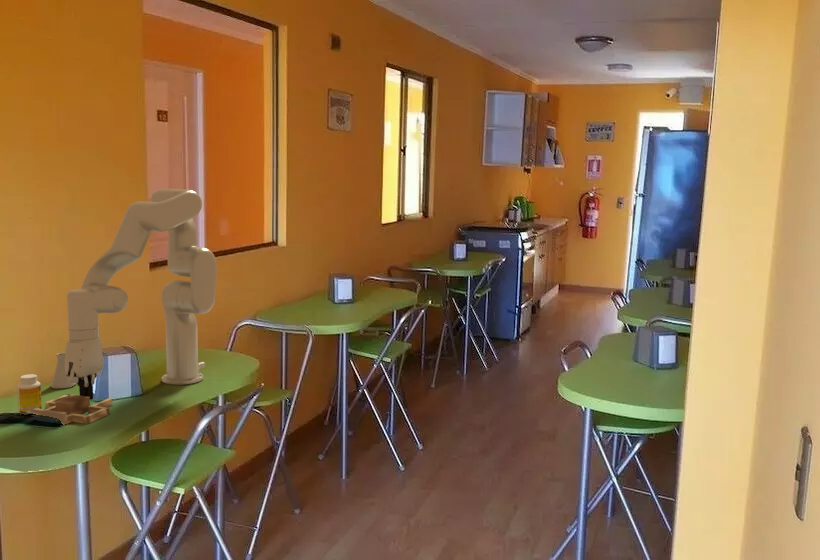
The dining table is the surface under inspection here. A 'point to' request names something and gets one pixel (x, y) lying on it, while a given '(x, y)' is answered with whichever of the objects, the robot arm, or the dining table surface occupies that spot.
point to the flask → (61, 374)
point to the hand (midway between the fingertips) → (86, 399)
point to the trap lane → (95, 410)
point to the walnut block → (73, 404)
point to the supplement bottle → (29, 394)
